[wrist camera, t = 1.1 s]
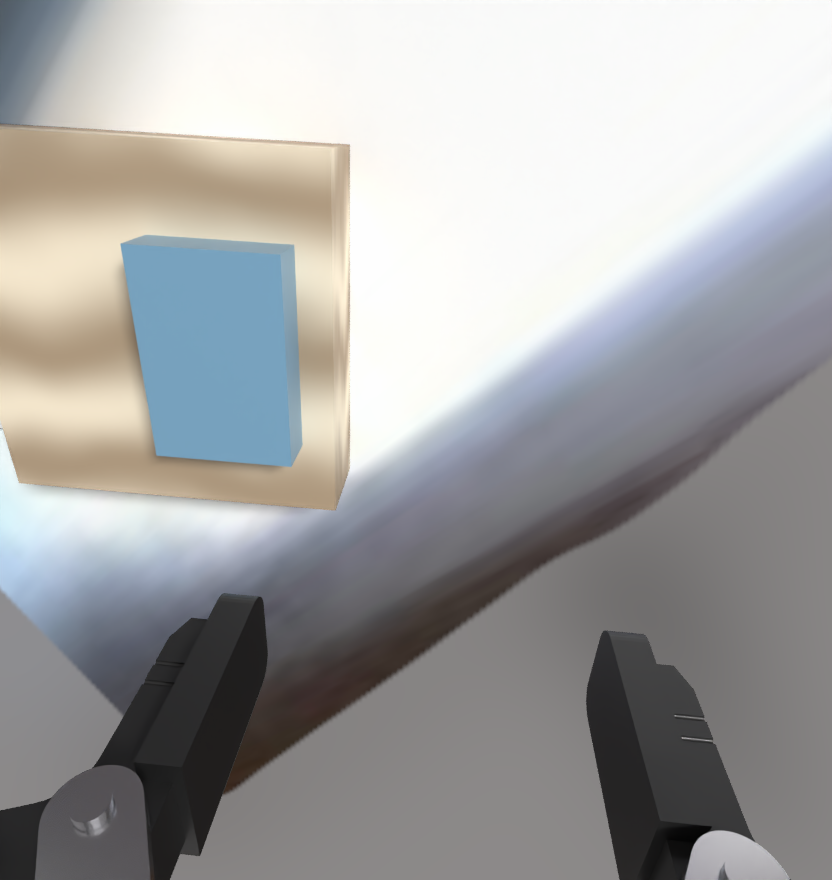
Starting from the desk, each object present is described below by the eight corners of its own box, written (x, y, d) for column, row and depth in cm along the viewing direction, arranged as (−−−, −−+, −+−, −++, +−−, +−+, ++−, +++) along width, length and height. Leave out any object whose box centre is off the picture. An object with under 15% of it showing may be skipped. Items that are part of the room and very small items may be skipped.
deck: (-15, 122, 26) (-89, 123, 23) (349, 144, 26) (330, 148, 22) (65, 445, 34) (19, 483, 30) (349, 468, 33) (335, 510, 30)
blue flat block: (145, 234, 24) (120, 243, 22) (294, 244, 24) (280, 254, 22) (175, 434, 28) (156, 455, 27) (302, 445, 28) (291, 466, 26)
